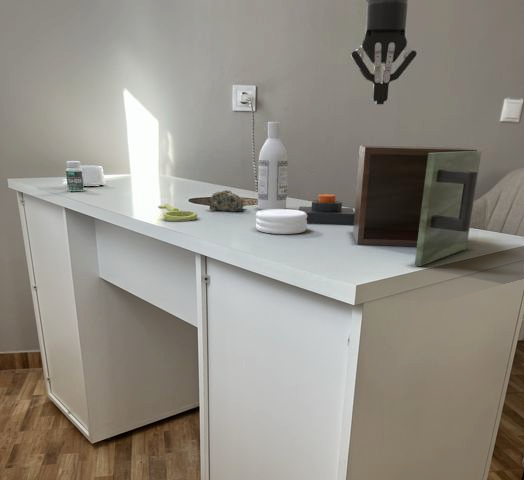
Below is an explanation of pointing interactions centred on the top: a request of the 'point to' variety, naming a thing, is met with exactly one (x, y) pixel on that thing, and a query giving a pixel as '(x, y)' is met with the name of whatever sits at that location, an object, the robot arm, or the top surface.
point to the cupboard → (391, 193)
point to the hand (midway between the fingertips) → (379, 104)
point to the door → (447, 204)
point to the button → (327, 198)
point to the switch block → (328, 213)
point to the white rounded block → (92, 175)
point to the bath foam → (272, 171)
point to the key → (177, 214)
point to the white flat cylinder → (281, 221)
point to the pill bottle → (74, 176)
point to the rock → (225, 201)
